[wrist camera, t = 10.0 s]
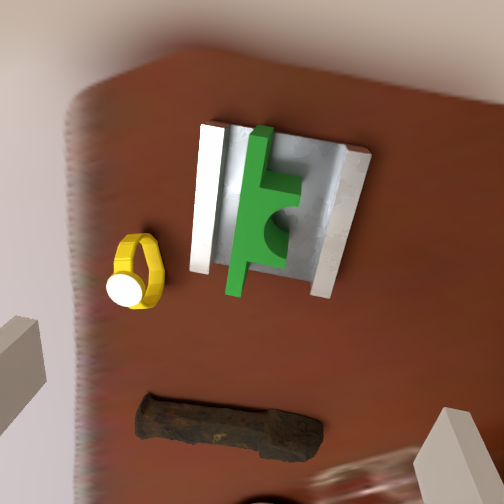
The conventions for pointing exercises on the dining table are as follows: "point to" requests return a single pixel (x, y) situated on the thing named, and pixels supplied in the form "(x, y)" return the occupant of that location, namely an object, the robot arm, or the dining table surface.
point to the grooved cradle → (287, 219)
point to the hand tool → (231, 428)
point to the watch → (128, 283)
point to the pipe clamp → (260, 212)
